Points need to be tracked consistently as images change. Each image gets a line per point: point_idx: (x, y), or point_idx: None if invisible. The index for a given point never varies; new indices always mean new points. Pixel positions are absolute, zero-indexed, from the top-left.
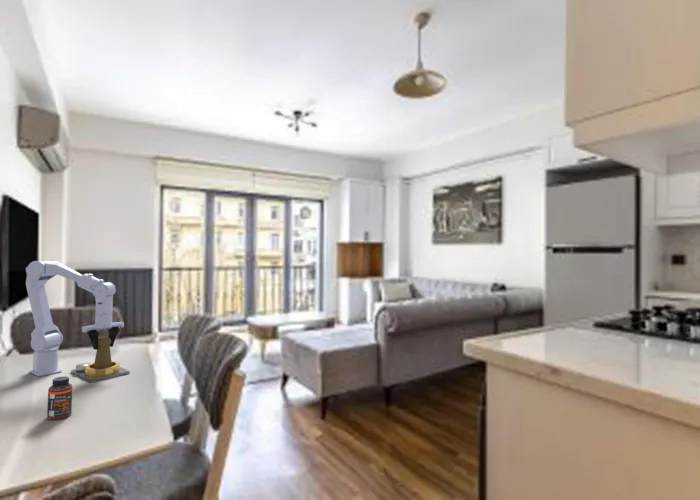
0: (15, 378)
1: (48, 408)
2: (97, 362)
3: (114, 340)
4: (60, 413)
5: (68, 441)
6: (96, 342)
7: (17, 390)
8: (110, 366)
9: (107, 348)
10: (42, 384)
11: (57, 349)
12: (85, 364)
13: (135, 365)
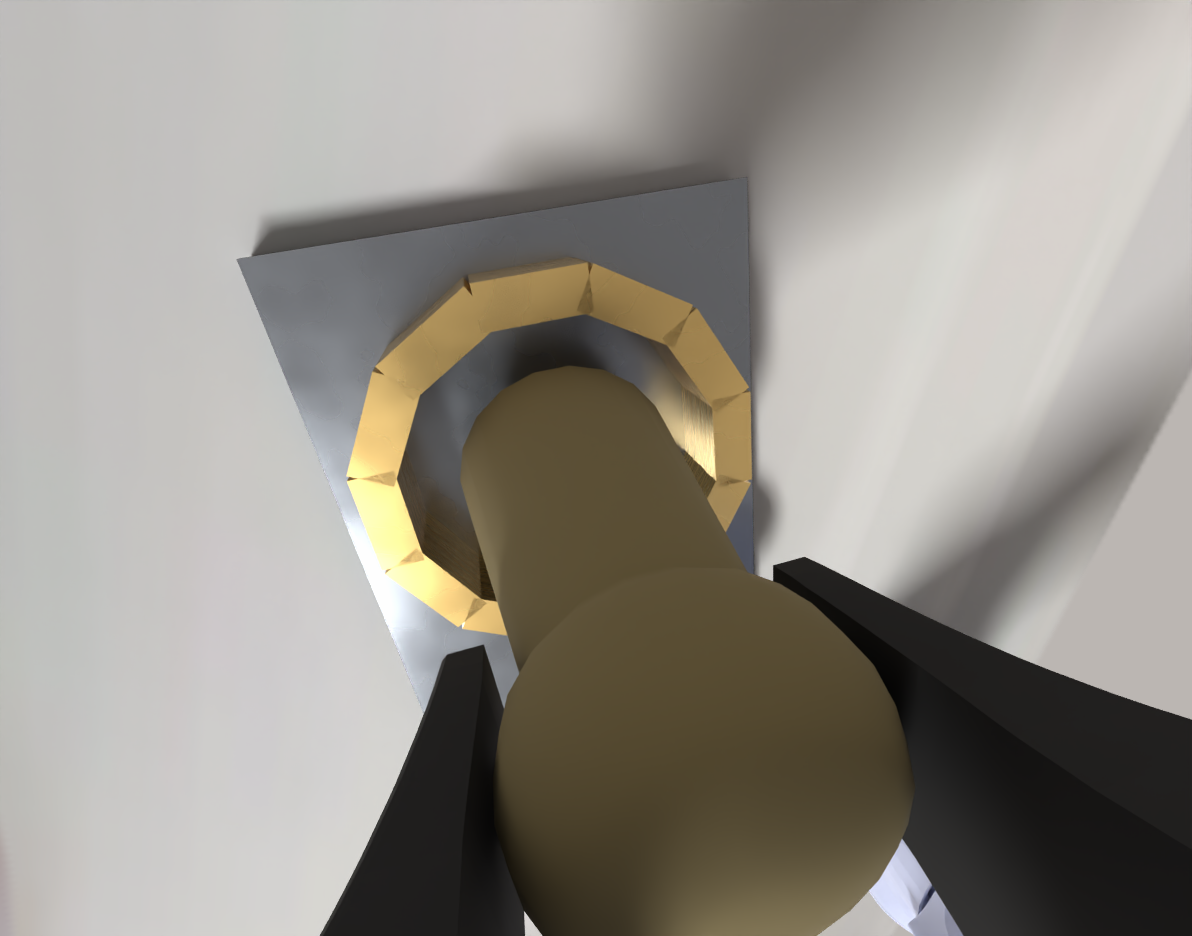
0: (1008, 647)
1: None
2: (671, 436)
3: (397, 787)
4: None
5: None
6: (935, 648)
7: (1144, 361)
8: (455, 546)
9: (588, 543)
10: (995, 413)
11: (921, 888)
12: None
13: (151, 586)
